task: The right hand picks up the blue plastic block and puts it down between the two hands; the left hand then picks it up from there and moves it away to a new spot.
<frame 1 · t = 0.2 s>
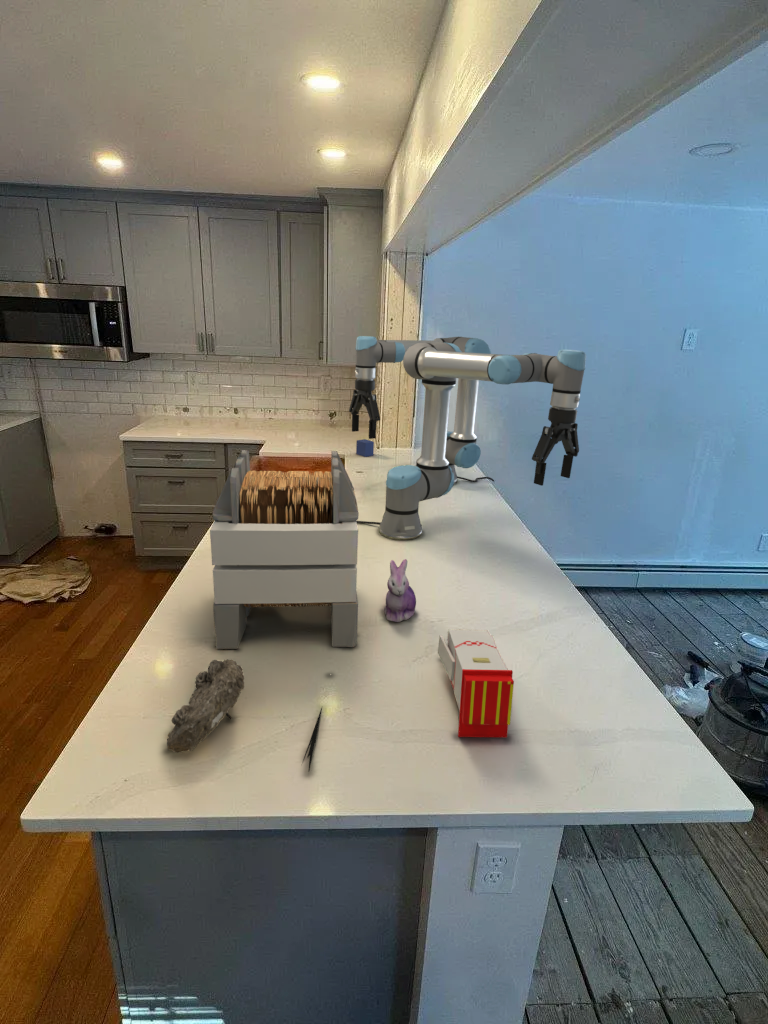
left hand: (552, 480, 165), 29 cm above the counter, tool pointing down, fingers open, 13 cm apart
right hand: (363, 434, 220), 28 cm above the counter, tool pointing down, fingers open, 13 cm apart
block: (364, 454, 305), on the counter
toy: (469, 691, 119), on the counter
fossil: (212, 717, 108), on the counter
feather: (319, 719, 109), on the counter
figurine: (399, 614, 147), on the counter
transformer: (290, 612, 146), on the counter
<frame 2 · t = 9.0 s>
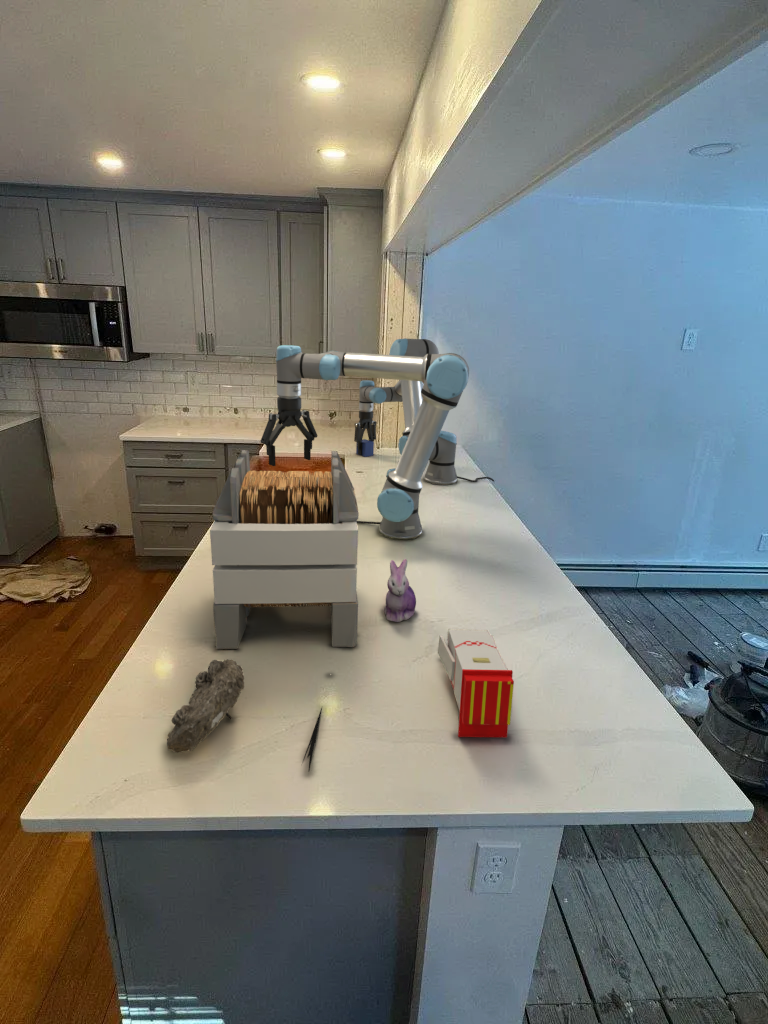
left hand: (290, 462, 185), 26 cm above the counter, tool pointing down, fingers open, 13 cm apart
right hand: (364, 453, 305), 1 cm above the counter, tool pointing down, fingers closed on block, 6 cm apart
block: (364, 454, 305), on the counter, touching right hand
everything else where it was.
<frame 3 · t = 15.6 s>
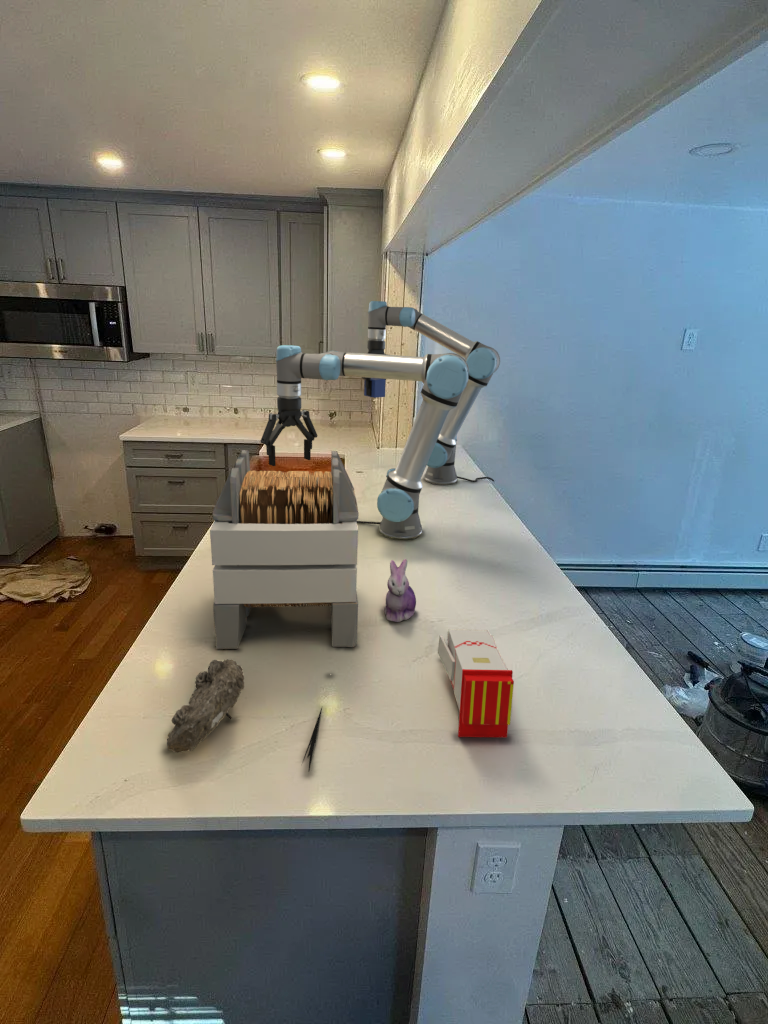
left hand: (290, 462, 185), 26 cm above the counter, tool pointing down, fingers open, 13 cm apart
right hand: (374, 395, 248), 39 cm above the counter, tool pointing down, fingers closed on block, 6 cm apart
block: (374, 396, 248), point 38 cm above the counter, touching right hand
everything else where it was.
when the right hand's fingers open (2 cm above the counter, at t = 22.4 s): block drops 2 cm, on the counter.
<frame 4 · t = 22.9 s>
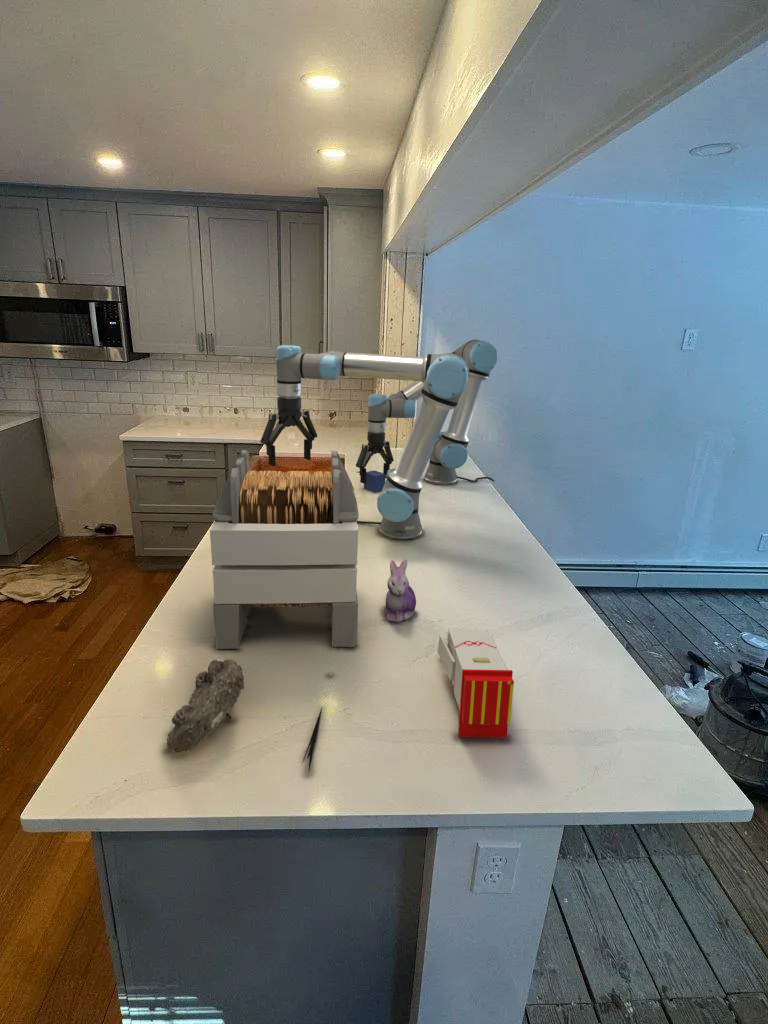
left hand: (290, 462, 185), 26 cm above the counter, tool pointing down, fingers open, 13 cm apart
right hand: (374, 480, 246), 4 cm above the counter, tool pointing down, fingers open, 12 cm apart
block: (374, 489, 247), on the counter
everything else where it was.
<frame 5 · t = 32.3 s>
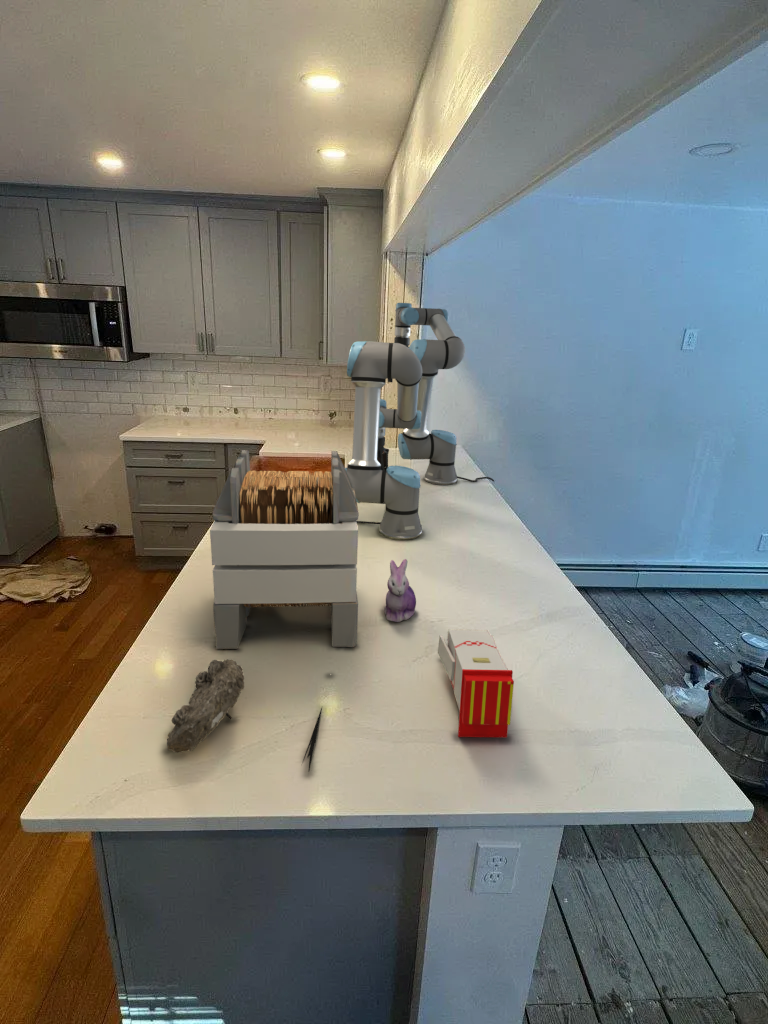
left hand: (374, 488, 247), 1 cm above the counter, tool pointing down, fingers closed on block, 6 cm apart
right hand: (399, 381, 281), 41 cm above the counter, tool pointing down, fingers open, 13 cm apart
block: (374, 489, 247), on the counter, touching left hand
everything else where it was.
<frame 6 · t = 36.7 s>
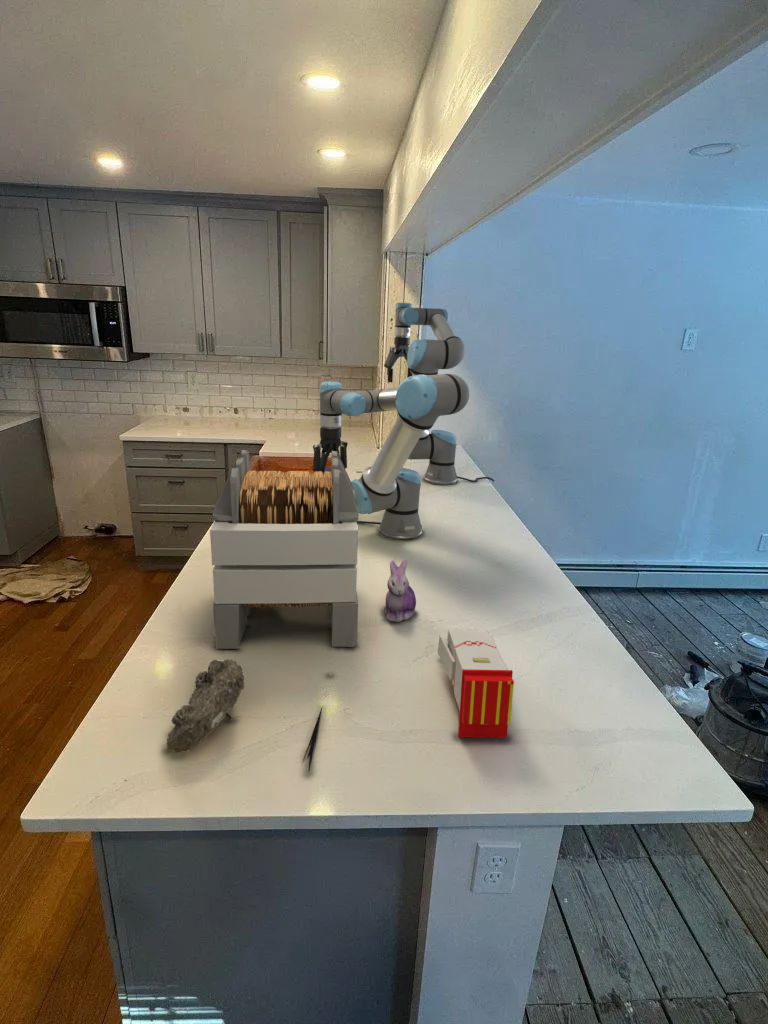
left hand: (330, 489, 208), 11 cm above the counter, tool pointing down, fingers closed on block, 6 cm apart
right hand: (399, 381, 281), 41 cm above the counter, tool pointing down, fingers open, 13 cm apart
block: (330, 490, 208), point 11 cm above the counter, touching left hand
everything else where it was.
when the left hand's fingers open (2 cm above the counter, at t = 41.2 s): block drops 2 cm, on the counter.
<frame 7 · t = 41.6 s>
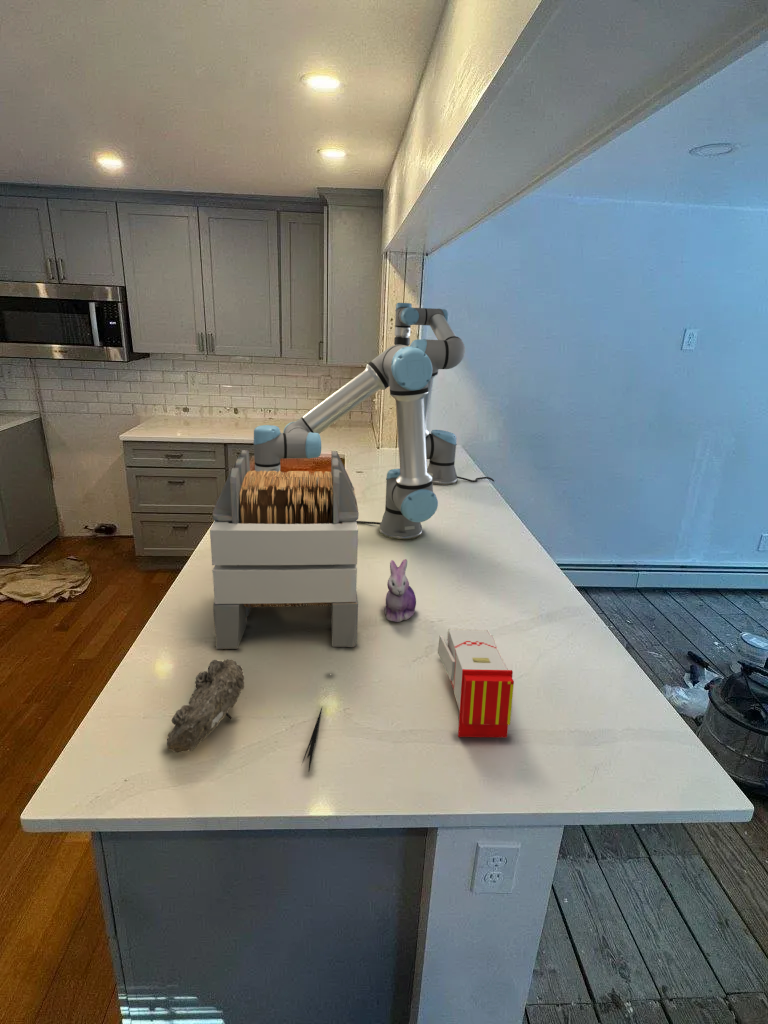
left hand: (269, 545, 176), 4 cm above the counter, tool pointing down, fingers open, 12 cm apart
right hand: (399, 381, 281), 41 cm above the counter, tool pointing down, fingers open, 13 cm apart
block: (269, 556, 177), on the counter
everything else where it was.
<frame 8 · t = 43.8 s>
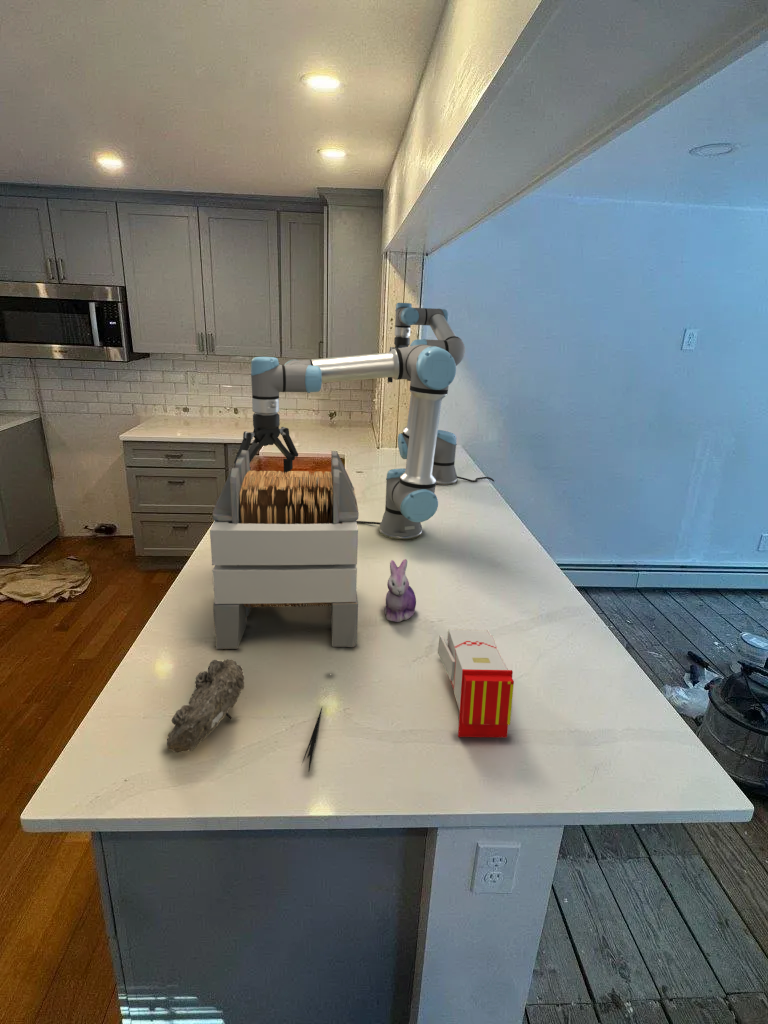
left hand: (268, 484, 169), 24 cm above the counter, tool pointing down, fingers open, 13 cm apart
right hand: (399, 381, 281), 41 cm above the counter, tool pointing down, fingers open, 13 cm apart
nothing on the counter moved.
at the end: block inside the target area (0.1 cm from its centre), on the counter; block tilted 0°; the two hands never held the block at the same time; the left hand is holding nothing; the right hand is holding nothing; block at rest at the end (0.0 cm/s) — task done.
